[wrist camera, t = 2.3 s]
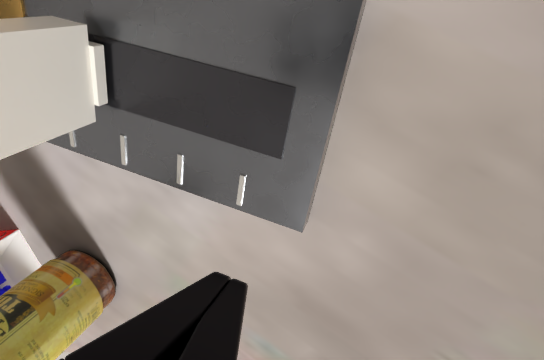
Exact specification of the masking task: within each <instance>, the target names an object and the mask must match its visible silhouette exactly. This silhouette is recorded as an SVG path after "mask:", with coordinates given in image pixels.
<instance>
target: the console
mask: <svg viewBox="0 0 544 360" xmlns="http://www.w3.org/2000/svg"><path fill="white" fill-rule="evenodd" d="M365 3H366V0H0V19H6V18H22V17H38V16H55V17H59V18H63V19H67V20H71V21H74V22H78V23H82V24H86V25H87V32H88V41H90V42H94V43H98V44H101V45H104V57H105V71H106V84H107V98H108V103H107V104H104V105H101V106H96V105H95V116H96V122H94V123H91V124H89V125H86V126H84V127H81V128H79V129H76V130H74V131H71V132H69V133H66V134H64V135H61V136H59V137H56V138H54V139H51V140H49V141H46V142H49V143H52V144H54V145H57V146H60V147H63V148H66V149H69V150H71V151H74V152H77V153H80V154H83V155H85V156H88V157H91V158H94V159H97V160H100V161H102V162H105V163H108V164H111V165H114V166H116V167H119V168H122V169H125V170H128V171H130V172H133V173H136V174H139V175H142V176H145V177H147V178H150V179H153V180H156V181H159V182H161V183H164V184H167V185H170V186H173V187H176V188H178V189H181V190H184V191H187V192H190V193H192V194H195V195H198V196H201V197H204V198H206V199H209V200H212V201H215V202H218V203H221V204H223V205H226V206H229V207H232V208H235V209H237V210H240V211H243V212H246V213H249V214H252V215H254V216H257V217H260V218H263V219H266V220H268V221H271V222H274V223H277V224H280V225H282V226H285V227H288V228H291V229H294V230H297V231H299V232H303V230H304V228H305V226H306V224H307V222H308V218H309V214H310V211H311V207H312V203H313V199H314V196H315V192H316V188H317V184H318V181H319V177H320V173H321V169H322V165H323V162H324V158H325V154H326V150H327V147H328V143H329V139H330V135H331V132H332V128H333V124H334V120H335V116H336V113H337V109H338V105H339V101H340V98H341V94H342V90H343V86H344V83H345V79H346V75H347V71H348V68H349V64H350V60H351V56H352V52H353V49H354V45H355V41H356V37H357V34H358V30H359V26H360V22H361V19H362V15H363V11H364V7H365Z"/></svg>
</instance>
